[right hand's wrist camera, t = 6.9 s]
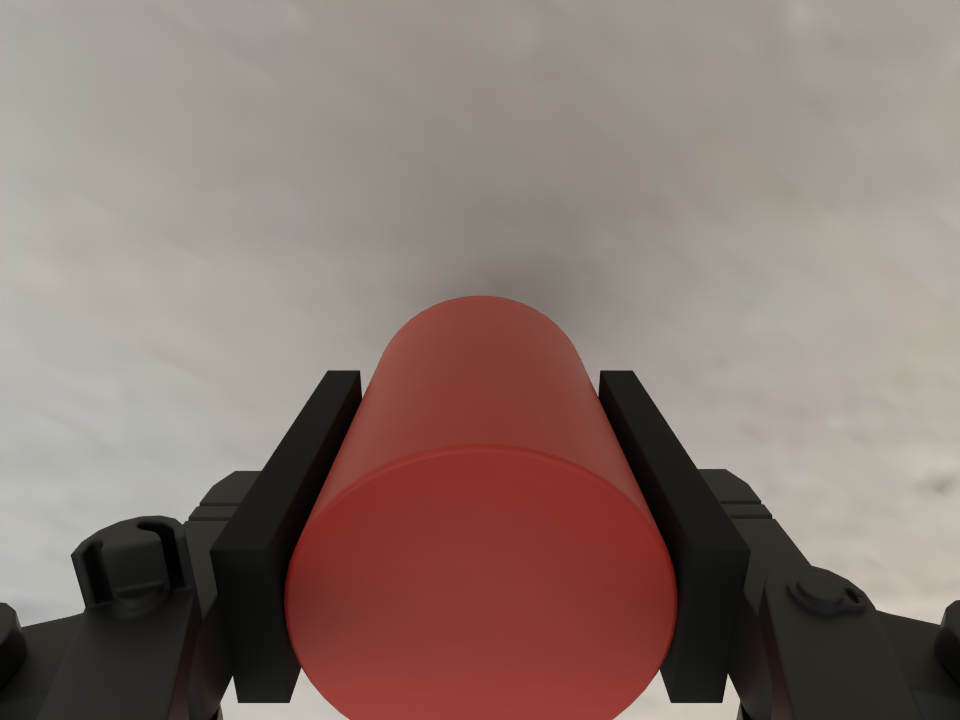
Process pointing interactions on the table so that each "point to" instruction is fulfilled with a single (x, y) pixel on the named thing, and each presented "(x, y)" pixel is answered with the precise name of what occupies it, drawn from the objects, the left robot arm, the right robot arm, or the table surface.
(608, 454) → the canister
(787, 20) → the table surface
